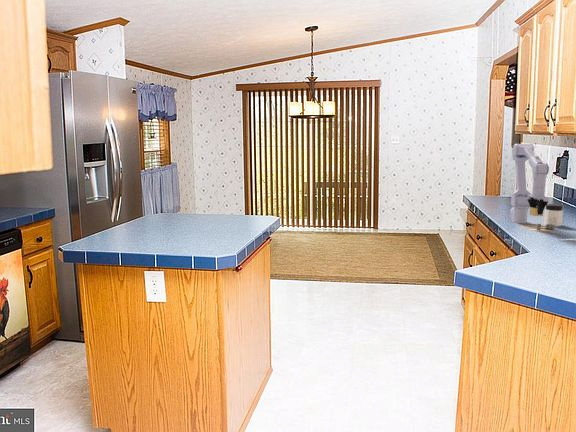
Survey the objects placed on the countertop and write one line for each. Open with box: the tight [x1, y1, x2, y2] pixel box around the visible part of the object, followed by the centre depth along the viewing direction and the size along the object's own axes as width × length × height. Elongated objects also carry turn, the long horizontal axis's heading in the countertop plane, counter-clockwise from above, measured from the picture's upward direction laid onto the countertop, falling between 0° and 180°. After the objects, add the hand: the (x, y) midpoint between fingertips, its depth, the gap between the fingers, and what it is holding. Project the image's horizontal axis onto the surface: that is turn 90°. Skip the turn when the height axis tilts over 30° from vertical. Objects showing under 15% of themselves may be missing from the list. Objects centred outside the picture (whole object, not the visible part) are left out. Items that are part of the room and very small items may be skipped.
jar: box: [542, 203, 564, 227], centre depth 290 cm, size 9×8×12 cm
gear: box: [545, 223, 556, 230], centre depth 277 cm, size 5×5×3 cm
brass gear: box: [529, 207, 544, 217], centre depth 277 cm, size 5×5×4 cm
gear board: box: [519, 223, 559, 232], centre depth 280 cm, size 16×13×4 cm
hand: (536, 213), depth 277 cm, fingers closed on brass gear, 5 cm apart
